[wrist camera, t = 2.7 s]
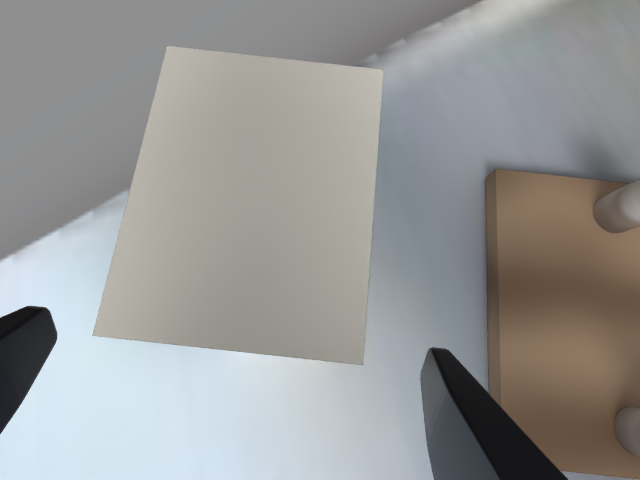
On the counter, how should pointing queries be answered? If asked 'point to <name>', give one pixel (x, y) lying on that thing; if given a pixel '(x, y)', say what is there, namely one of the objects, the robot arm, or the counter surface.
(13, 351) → the robot arm
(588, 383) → the tray
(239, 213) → the block
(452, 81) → the counter surface
